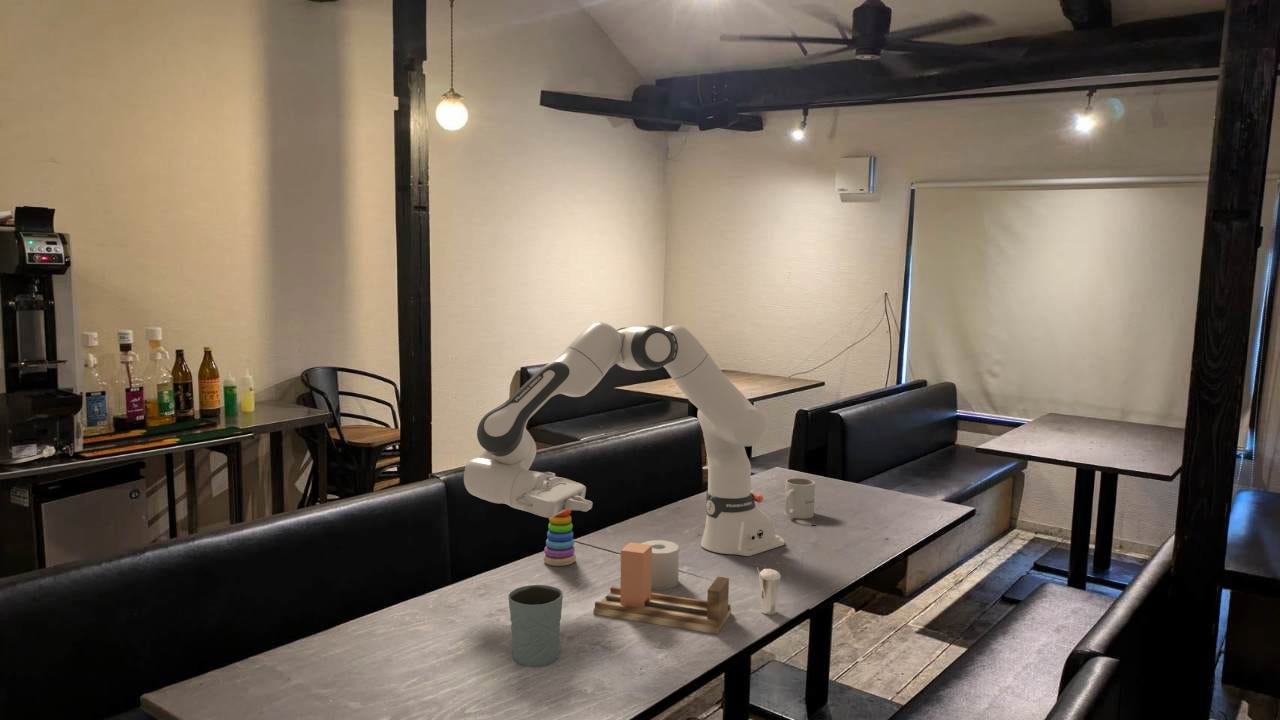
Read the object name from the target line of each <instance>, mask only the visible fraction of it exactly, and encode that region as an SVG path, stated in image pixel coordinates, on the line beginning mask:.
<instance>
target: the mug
mask: <svg viewBox="0 0 1280 720" xmlns="http://www.w3.org/2000/svg"><path fill="white" fill-rule="evenodd" d="M784 486H785V487H784V488H785V489H784V491H785V492H784V515H785V516H786V517H789V518H792V519H801V520H802V519H810V518H813V517H814V515H815V514H814V513H815V492H816V491H815V487H816V482H815V481H814V480H812V479H810V478H809V479H808V478H804V477H792V478H790V477H789V478H787V479H786V480H785V485H784Z"/></svg>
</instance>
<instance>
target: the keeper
mask: <svg viewBox="0 0 1280 720" xmlns="http://www.w3.org/2000/svg"><path fill="white" fill-rule="evenodd" d="M651 581H652V545H647V544H640V543H637V542H631V541H630V542H629V543H628V544H626V545H625V546H624V547H623V548H622V549H621V550H620V588H621V594H620V601H621V605H623V606H630V607H636V608H642V609H643V608H644V607H645V601H648V602H650V600H651V593H652V589H651Z"/></svg>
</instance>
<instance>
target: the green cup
mask: <svg viewBox="0 0 1280 720" xmlns="http://www.w3.org/2000/svg"><path fill="white" fill-rule="evenodd" d="M563 598H564V592H563V591H562V590H561V589H559V588H557V587H554V586H552V585H545V584H534V585H533V584H531V585H525V586H521V587H517V588H516V589H513V590H512V591H511V592H510V593H509V594H508V605H509V613H510V616H509V617H510V622H511V625H510V631H511V639H512V640H511V646H512V647H511V648H512V658H513V660H514V661H515V663H517V664H519V665H522V666H524V667H529V668H530V667H534V668H535V667H544V666H547V665H550V664H552V663H554V662H555V661H556V660H558V658H559V655H560V643H561V642H560V640H561V639H560V632H561V620H562V607H563V601H564V600H563Z"/></svg>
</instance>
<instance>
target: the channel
mask: <svg viewBox="0 0 1280 720" xmlns="http://www.w3.org/2000/svg"><path fill="white" fill-rule="evenodd" d="M729 580H730V578H729V577H724V576H717V577H716V578H715V579H714V581H712V582H713V583H712V584H711V585H710V586H709V587H708V589H707V599H706V600H703V599H696V598H690V597H689V598H688V597H684V596H683V597H682V596H677V595H676V596H675V595H669V594H664V593H663V594H662V593H657V592H651V600H650V602H654V603H661V604H667V605H674V606H680V607H687V608H693V609H699V610H706V611H707V615H702V614H696V613H690V612H683V611H677V610H670V609H664V608H658V607H651V606H645V607H644V608H643V609H642V608H636V607H630V606H623V605H621V602H619V601H613V600H607V599H606V596H604V598H603V599H602V600H601V601H597V600H596V601H595V602H594V608H593V615H598V616H605V617H610V618H611V617H612V618H617V619H623V620H627V621H628V620H629V621H636V622H641V623H645V624H646V623H647V624H653V625H659V626H664V627H665V626H666V627H672V628H677V629H685V630H688V631H695V632H702V633H709V634H715V635H718V634H719V633H720V632H721V630H722V628H723V627H724V625H725V623H727V621H728V619H729V617H730V615H731V614H732V607H731V604H729V587H730V586H729V585H730V584H729V583H730V581H729ZM620 594H621V587H617V586H611V587H610V592H609V593H608V594H607V595H609V596H615V597H620Z"/></svg>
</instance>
